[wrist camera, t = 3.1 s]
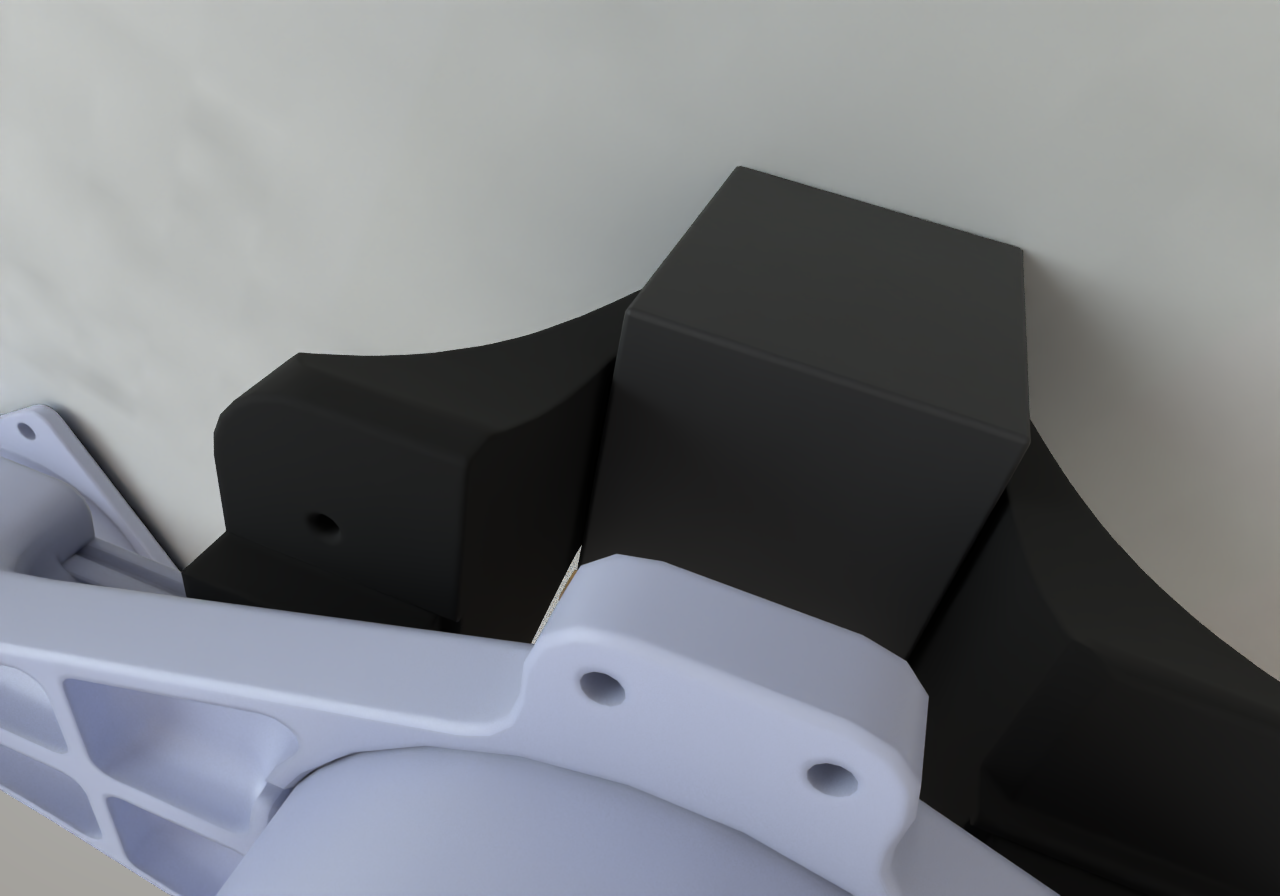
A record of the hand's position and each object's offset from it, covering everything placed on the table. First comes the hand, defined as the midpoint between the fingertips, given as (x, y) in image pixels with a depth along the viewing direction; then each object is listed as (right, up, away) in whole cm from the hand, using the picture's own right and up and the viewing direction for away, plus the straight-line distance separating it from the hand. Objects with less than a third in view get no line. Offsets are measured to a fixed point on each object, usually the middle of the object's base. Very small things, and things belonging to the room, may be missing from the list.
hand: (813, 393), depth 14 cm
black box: (0, +1, +1) cm, 1 cm away
